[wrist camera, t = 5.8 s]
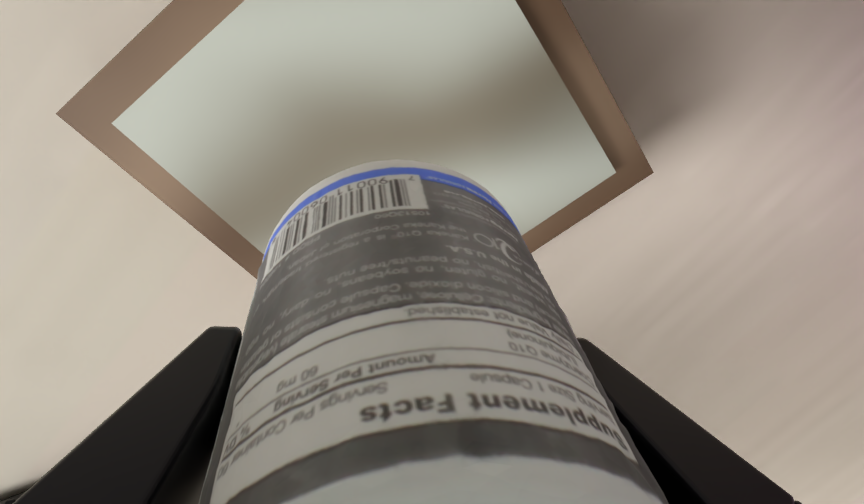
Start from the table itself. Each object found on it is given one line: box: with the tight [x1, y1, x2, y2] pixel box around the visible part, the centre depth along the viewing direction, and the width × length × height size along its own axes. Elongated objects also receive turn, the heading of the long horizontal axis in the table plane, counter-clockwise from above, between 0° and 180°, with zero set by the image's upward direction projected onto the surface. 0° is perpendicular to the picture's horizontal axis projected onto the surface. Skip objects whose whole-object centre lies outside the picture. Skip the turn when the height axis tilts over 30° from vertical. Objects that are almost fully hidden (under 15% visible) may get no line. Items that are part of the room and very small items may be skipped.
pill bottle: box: [199, 160, 669, 504], centre depth 6 cm, size 5×5×8 cm
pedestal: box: [56, 0, 654, 279], centre depth 16 cm, size 12×12×3 cm
